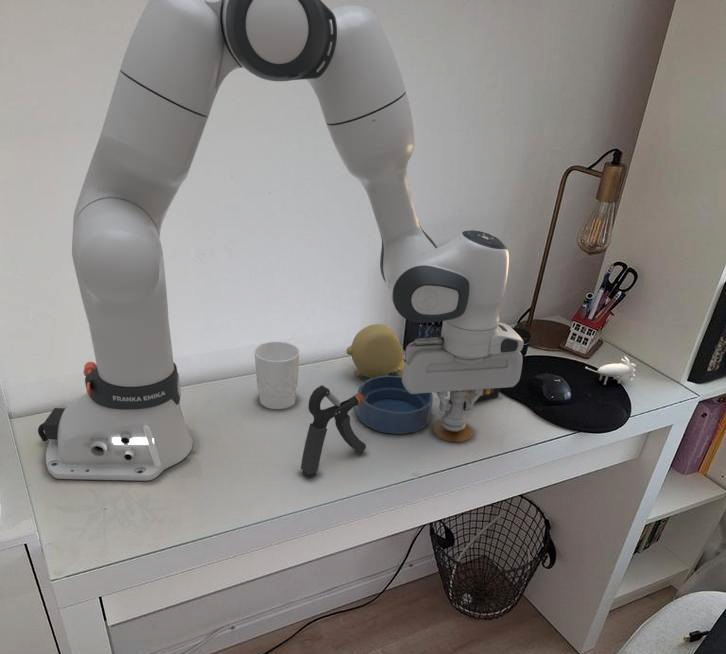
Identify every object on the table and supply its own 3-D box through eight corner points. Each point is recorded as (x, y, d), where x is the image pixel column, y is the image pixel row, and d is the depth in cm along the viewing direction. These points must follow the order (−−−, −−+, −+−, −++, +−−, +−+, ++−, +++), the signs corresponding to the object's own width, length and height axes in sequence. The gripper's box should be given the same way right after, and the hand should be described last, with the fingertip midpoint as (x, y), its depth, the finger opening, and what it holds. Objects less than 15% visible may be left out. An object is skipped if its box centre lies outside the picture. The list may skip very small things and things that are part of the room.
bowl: (366, 438, 118) (368, 415, 116) (349, 399, 129) (350, 377, 126) (439, 432, 121) (443, 410, 119) (416, 394, 132) (419, 373, 129)
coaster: (440, 444, 118) (440, 442, 118) (427, 423, 124) (427, 421, 123) (477, 441, 120) (478, 439, 120) (463, 420, 125) (464, 418, 125)
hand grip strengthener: (367, 453, 115) (374, 373, 106) (308, 480, 108) (309, 397, 99) (358, 447, 116) (364, 368, 107) (299, 473, 109) (300, 391, 100)
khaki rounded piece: (367, 402, 135) (408, 380, 128) (331, 352, 132) (371, 327, 125) (386, 379, 142) (425, 358, 136) (352, 331, 139) (391, 307, 132)
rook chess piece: (464, 434, 119) (471, 394, 114) (438, 430, 119) (445, 390, 115) (466, 421, 122) (473, 381, 118) (441, 417, 123) (447, 377, 118)
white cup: (248, 404, 125) (245, 355, 119) (268, 386, 130) (267, 337, 124) (286, 415, 122) (286, 365, 116) (306, 396, 128) (306, 347, 122)
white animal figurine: (623, 374, 144) (630, 353, 141) (638, 386, 140) (645, 365, 137) (573, 378, 141) (579, 357, 138) (586, 390, 137) (593, 369, 134)
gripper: (413, 348, 106) (403, 423, 114) (533, 341, 111) (516, 415, 119) (401, 330, 111) (393, 404, 119) (517, 325, 115) (501, 396, 124)
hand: (455, 409), depth 119 cm, fingers closed on rook chess piece, 3 cm apart
